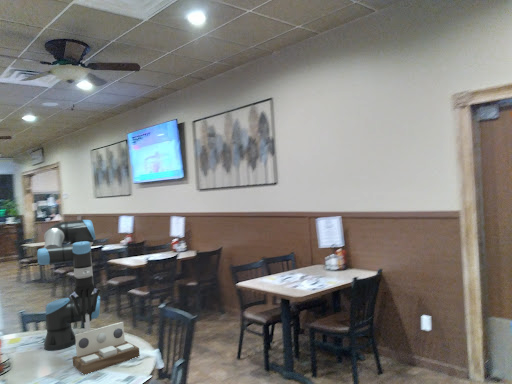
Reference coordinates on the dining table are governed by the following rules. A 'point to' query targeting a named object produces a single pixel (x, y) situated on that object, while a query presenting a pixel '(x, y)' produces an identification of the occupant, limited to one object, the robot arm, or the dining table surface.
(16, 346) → the dining table surface
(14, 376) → the dining table surface
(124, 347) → the button
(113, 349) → the middle button
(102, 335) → the pattern card
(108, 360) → the button board
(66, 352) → the dining table surface
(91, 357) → the button
